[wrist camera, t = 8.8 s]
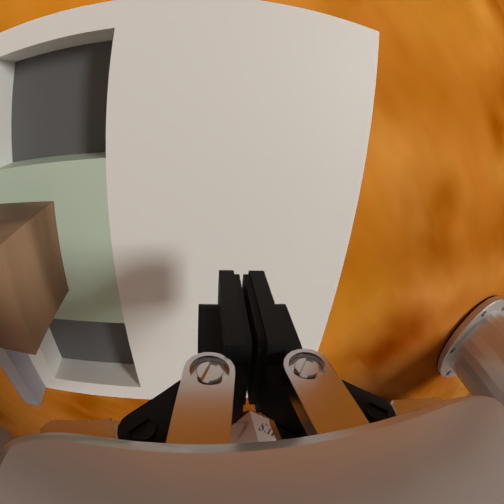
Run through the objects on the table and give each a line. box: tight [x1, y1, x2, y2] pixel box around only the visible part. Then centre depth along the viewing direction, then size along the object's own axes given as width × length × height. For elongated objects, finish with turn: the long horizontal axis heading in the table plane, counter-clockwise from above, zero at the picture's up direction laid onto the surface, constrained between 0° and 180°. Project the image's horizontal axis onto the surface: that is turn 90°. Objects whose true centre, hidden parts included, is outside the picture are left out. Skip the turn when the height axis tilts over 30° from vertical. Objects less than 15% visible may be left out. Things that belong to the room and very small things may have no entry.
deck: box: [0, 0, 379, 406], centre depth 13 cm, size 22×24×4 cm
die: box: [230, 411, 276, 444], centre depth 23 cm, size 8×9×10 cm
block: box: [0, 201, 69, 355], centre depth 10 cm, size 5×5×5 cm
